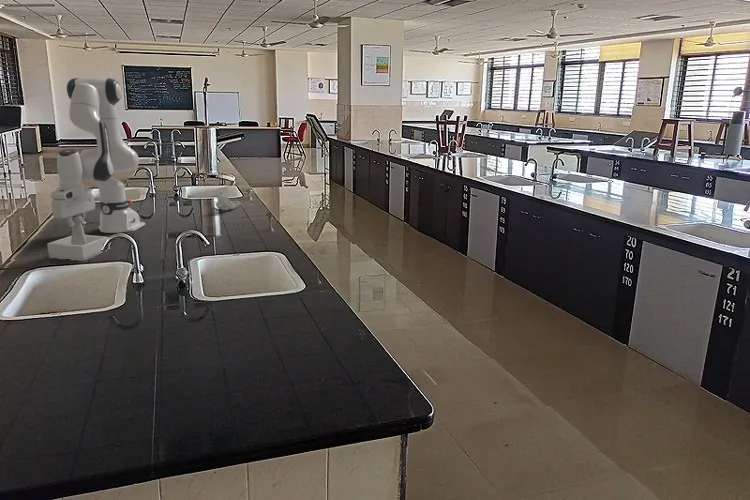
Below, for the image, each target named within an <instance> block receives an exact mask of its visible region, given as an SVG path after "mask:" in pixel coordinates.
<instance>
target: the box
mask: <svg viewBox="0 0 750 500" xmlns="http://www.w3.org/2000/svg"><path fill="white" fill-rule="evenodd" d="M85 236H86V239H87V243H86V244H85V245H82V246H79V245H72V244H71V238H72V235H69V236H67V237H64V238H59V239H57V240H54V241H51V242H47V243H46V244H47V251H48V259H54V258H57V259H58V260H65V259H70V260H69V261H76V260H77V261H78V262H86V261H87V260H90V258H91V259H93V258H95V257H99V256H100V255H99V254H101V253H103V252H102V251H101V248H102V246H103V244H104V243H105V241H106V240H107V239H108V238H109V239H110V237H109V236H101V235H90V234H89V235H88V234H85ZM108 249H109V250H110V251H111V245H109V248H108ZM103 254H104V253H103ZM101 255H102V254H101ZM85 260H86V261H85Z"/></svg>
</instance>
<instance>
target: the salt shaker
mask: <svg viewBox="0 0 750 500" xmlns="http://www.w3.org/2000/svg"><path fill="white" fill-rule="evenodd" d="M72 221H73V222H75V226H73V227H71V229H72V230H71V236H72V238H71V244H72V245H79V246H82V245H85V244H86V243H87V239H86V236H85V235H86V234H85V230H84V228H83V224H81V221H82V217H81V216H80V215H73V216H72Z"/></svg>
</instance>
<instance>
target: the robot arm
mask: <svg viewBox="0 0 750 500" xmlns="http://www.w3.org/2000/svg"><path fill="white" fill-rule="evenodd" d="M122 91H123V90H122V86H121V85H120V82H119V81H118V80H117V79H114V78H110V77H109V78H104V77H83V78H82V77H81V78H78V77H75V78H71V79H70V80H68V82H67V84H66V94H67V96H68V98H69V99H70V103H69V114H68V115H69V120H70V121H71V123H72V124H73V126H75V127H76V128H78V129H79V130H82V131H84V132H87V133H89V134H92V135H93V136H94V137H95V138H96V145H97V147H96V148H90V149H89V148H88V149H83V150H81V152H79V151H78V150H77V149H64V150H60V151H58V152H57V155H56V168H57V175H58V177H59V182H58V183H59V184H58V185H59V187H58V188H57V189H55V190H53V191H52V192H51V193H50V198H51V199H52V200H51V210H52V216H53V217H54V218H55V219H61V220H62V219H65V220H66V222H67V223H68V227H70V228H72V227H73V226H75V222H73V221H72V216H81V217H82V221H81V224H82V225H83V224H85V218H86V215H87V214H86V213H87V212H90V211H94V210H95V209H96V203H95V197H94V195H93V193H92V190H91V189H90V188H89V187H85V181H95V182H96V184H97V187H98V193H99V198H100V201H99V207H100V210H101V211H100V212H99V226H98V230H99V231H100V232H101V233H104V234H105V233H106V234H108V233H109V234H114V233H115V234H117V233H126V232H127V233H128V232H135V231H137V230H138V229H140V228H142V227H143V226H146V223H145V222H143V221H141V220H140V215H139V213H138V212H136V211H135V210H133V209H132V208H131V207H130V206H129V205H132V203H133V201H132V199H126V198H127V197H126V188H125V187H126V186H125V184H124V183H123V182H122V181H121V180H119V179H116V178H114V177H112V176H113V175H114V173H116V172H117V173H121V172H122V173H125V172H130V171H135V170H136V169H137V168H138V166H139V162H140V157H139V155H138V153H137V152H136V150H134V149H133V148H131V147H130V146H128V144H126V142H125V141H124V140H123V137H122V136H121V131H120V127H119V120H118V119H119V117H118V112H117V107H116V104H117V103H119V102H120V100H121V99H122Z"/></svg>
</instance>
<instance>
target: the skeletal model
mask: <svg viewBox="0 0 750 500" xmlns="http://www.w3.org/2000/svg"><path fill="white" fill-rule="evenodd" d="M229 199H230V197H229V196H227V195H224V192H223V191H220V193H219V195H218V196H217V197H216V200H218V201H213V205H214V206H215V207H216V208H217V209H219V210H222V211H224V210H228V211H229V210H231V209H234V208H236V207H237V206H238V205H240V206H243V205H242V203H241V202H240V201H238V200H237V201H236V200H234V201H232V200H229Z"/></svg>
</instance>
